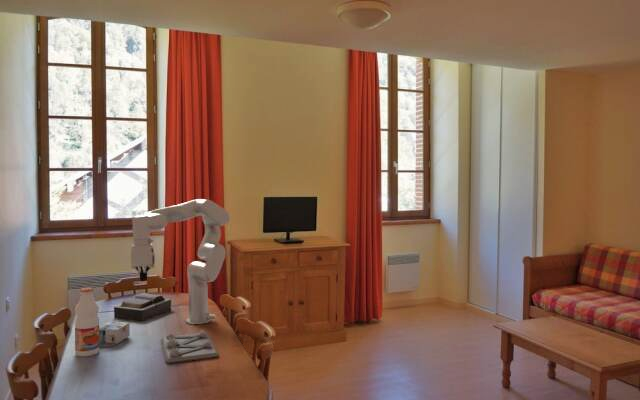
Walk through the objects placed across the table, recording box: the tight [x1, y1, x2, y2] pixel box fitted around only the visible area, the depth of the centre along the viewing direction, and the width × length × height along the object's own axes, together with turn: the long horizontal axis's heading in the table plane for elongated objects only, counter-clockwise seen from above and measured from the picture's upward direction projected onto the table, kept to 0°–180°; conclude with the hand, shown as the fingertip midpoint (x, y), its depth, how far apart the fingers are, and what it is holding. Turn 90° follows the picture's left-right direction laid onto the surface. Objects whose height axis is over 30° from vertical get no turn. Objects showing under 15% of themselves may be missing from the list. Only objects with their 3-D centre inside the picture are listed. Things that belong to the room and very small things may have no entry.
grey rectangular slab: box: [160, 329, 219, 365], centre depth 213 cm, size 30×22×7 cm
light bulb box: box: [99, 321, 130, 345], centre depth 223 cm, size 11×7×11 cm
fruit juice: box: [74, 286, 100, 358], centre depth 207 cm, size 9×9×28 cm
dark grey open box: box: [113, 292, 172, 323], centre depth 266 cm, size 23×27×10 cm
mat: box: [99, 342, 121, 348], centre depth 223 cm, size 14×16×1 cm
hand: (143, 280), depth 226 cm, fingers closed
